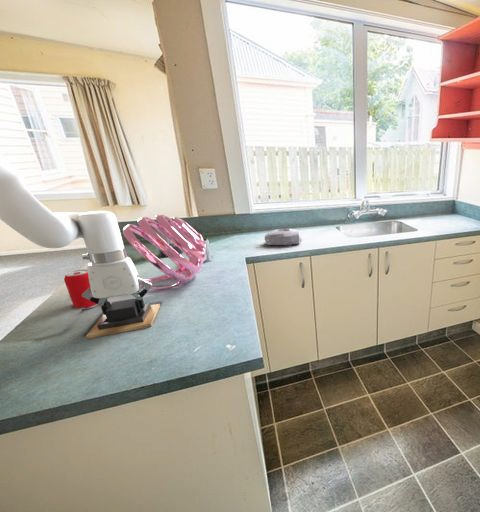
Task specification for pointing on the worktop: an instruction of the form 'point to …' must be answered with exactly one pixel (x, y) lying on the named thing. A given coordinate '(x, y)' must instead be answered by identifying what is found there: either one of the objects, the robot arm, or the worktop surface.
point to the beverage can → (78, 288)
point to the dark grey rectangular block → (122, 310)
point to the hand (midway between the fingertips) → (125, 312)
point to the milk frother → (168, 243)
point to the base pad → (125, 322)
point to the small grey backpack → (282, 237)
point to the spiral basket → (169, 247)
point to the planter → (207, 250)
